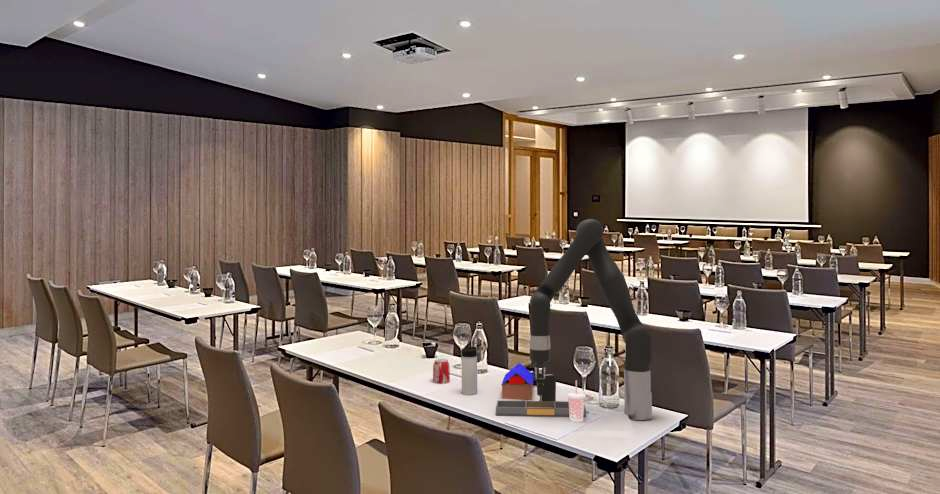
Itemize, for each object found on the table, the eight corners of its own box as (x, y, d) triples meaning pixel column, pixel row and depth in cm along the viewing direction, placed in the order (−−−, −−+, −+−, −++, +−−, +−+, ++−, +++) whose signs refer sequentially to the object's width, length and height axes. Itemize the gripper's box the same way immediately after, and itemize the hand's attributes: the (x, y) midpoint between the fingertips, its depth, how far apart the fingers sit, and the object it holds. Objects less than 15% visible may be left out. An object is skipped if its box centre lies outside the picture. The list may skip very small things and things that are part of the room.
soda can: (449, 390, 275) (449, 361, 275) (432, 390, 275) (432, 362, 275) (450, 386, 282) (449, 358, 282) (433, 386, 282) (433, 359, 282)
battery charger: (550, 401, 254) (550, 372, 254) (556, 403, 251) (556, 374, 251) (536, 404, 250) (535, 374, 250) (542, 406, 247) (542, 376, 247)
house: (533, 390, 274) (533, 363, 274) (532, 402, 254) (531, 372, 254) (505, 390, 275) (505, 362, 275) (501, 402, 255) (501, 372, 255)
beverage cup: (576, 423, 224) (576, 382, 224) (563, 419, 229) (563, 379, 229) (589, 420, 227) (588, 380, 227) (576, 416, 232) (576, 377, 232)
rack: (583, 409, 242) (583, 401, 242) (586, 417, 232) (585, 408, 232) (497, 408, 245) (497, 400, 245) (495, 415, 235) (495, 407, 235)
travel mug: (481, 397, 263) (480, 347, 262) (469, 400, 258) (469, 349, 258) (469, 394, 267) (469, 345, 267) (458, 397, 262) (458, 347, 262)
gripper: (550, 351, 231) (551, 398, 231) (549, 344, 245) (549, 388, 245) (529, 350, 231) (529, 397, 231) (529, 344, 246) (529, 388, 246)
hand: (540, 392), depth 238 cm, fingers open, 6 cm apart
